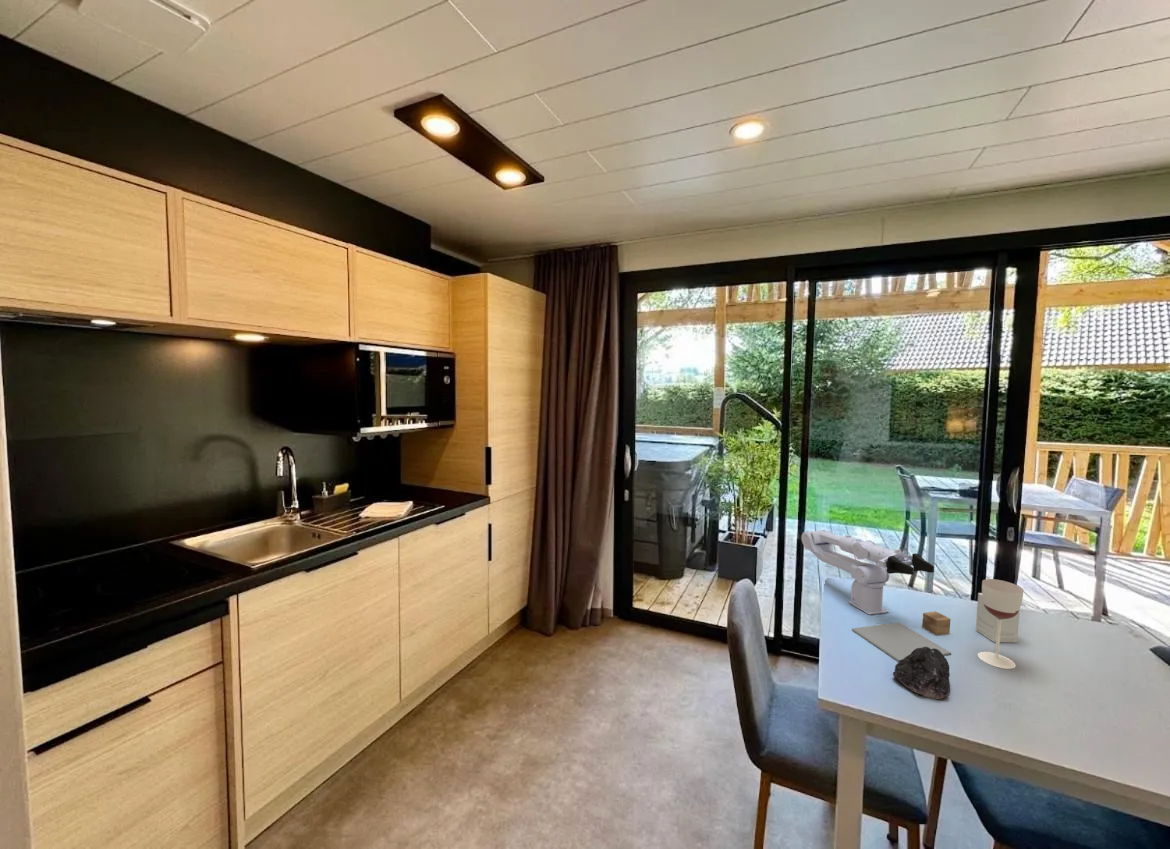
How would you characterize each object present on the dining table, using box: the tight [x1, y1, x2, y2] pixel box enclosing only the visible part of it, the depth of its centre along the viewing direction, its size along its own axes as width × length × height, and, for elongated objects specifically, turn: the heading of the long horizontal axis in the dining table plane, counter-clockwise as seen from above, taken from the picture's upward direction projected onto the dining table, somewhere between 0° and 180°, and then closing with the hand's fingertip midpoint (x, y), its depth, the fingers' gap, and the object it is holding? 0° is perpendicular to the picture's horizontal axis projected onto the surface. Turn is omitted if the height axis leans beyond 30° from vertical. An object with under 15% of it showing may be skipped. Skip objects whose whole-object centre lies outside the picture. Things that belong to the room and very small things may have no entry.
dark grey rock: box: [892, 647, 951, 700], centre depth 126 cm, size 13×14×10 cm
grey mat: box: [851, 621, 952, 663], centre depth 147 cm, size 18×18×1 cm
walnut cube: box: [922, 610, 952, 636], centre depth 153 cm, size 5×5×5 cm
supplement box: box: [975, 592, 1021, 643], centre depth 149 cm, size 7×7×13 cm
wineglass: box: [977, 578, 1024, 670], centre depth 136 cm, size 9×10×22 cm
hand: (922, 570), depth 147 cm, fingers open, 7 cm apart
